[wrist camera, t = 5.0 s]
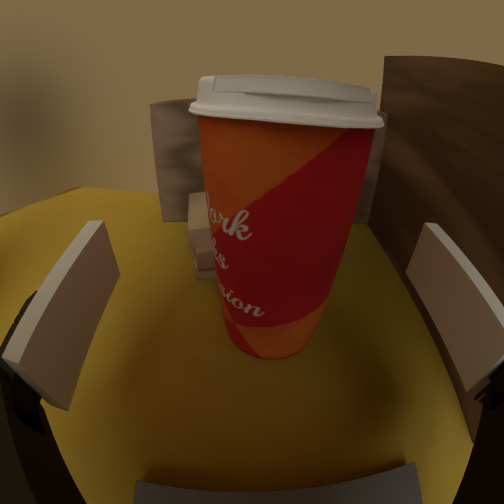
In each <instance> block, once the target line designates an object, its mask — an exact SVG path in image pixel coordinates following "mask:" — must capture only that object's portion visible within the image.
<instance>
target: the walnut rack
mask: <svg viewBox="0 0 504 504" xmlns="http://www.w3.org/2000/svg"><path fill="white" fill-rule="evenodd" d="M196 100H197V98H194V99H181V100H170V101H162V102H155V103H152V104H150V113H151V126H152V138H153V148H154V158H155V166H156V175H157V182H158V190H159V197H160V204H161V210H162V217H163V221H188V220H187V213H188V207H189V193H200V192H205V185H204V177H203V168H202V159H201V150H200V140H199V130H198V120H197V114H193V113H191V112H189V108H190V104H191V103H193V102H196ZM377 115H378V116H380V117H381V118H382V119H383V122H384V127H382V128H375V133H374V138H373V142H372V147H371V152H370V156H369V160H368V165H367V169H366V173H365V177H364V181H363V185H362V189H361V193H360V196H359V200H358V204H357V207H356V211H355V214H354V218H353V221H352V223H363V224H368V226H369V227H370V229H371V230H372V232H373V233H374V235H375V236H376V238H377V239H378V241H379V242H380V244H381V245H382V247H383V249H384V250H385V252H386V253H387V255H388V257H389V258H390V260H391V261H392V263H393V265H394V266H395V268H396V270H397V271H398V273H399V275H400V277H401V278H402V280H403V282H404V284H405V285H406V287H407V289H408V291H409V292H410V294H411V296H412V298H413V300H414V302H415V303H416V305H417V307H418V309H419V311H420V313H421V315H422V317H423V319H424V321H425V323H426V325H427V327H428V329H429V331H430V333H431V335H432V337H433V339H434V341H435V343H436V345H437V348H438V350H439V352H440V354H441V356H442V359H443V361H444V363H445V365H446V368H447V370H448V373H449V375H450V377H451V380H452V382H453V385H454V387H455V390H456V393H457V395H458V398H459V401H460V404H461V406H462V409H463V412H464V415H465V418H466V421H467V424H468V427H469V431H470V434H471V437H472V441H473V443H474V442H475V438H476V434H477V430H478V426H479V422H480V417H481V412H482V407H483V404H482V403H480V402H479V400H480V399H481V398H482V397H483V396H484V395H485V394H483V395H482V396H481V397H480V398H478V399H477V400H476V401H475V400H474V398H475V396H476V395H477V394H478V393H479V392H480V391H481V390H482V389H483V388H484V387H485V386H486V385H487V384H488V383H490V382H491V381H490V379H489V378H488V379H486V380H485V381H484V382H483V383H482V384H481V385H480V386H479V387H477V388H475V389H473V390H470V391H468V392H466V390H465V388H464V385H463V383H462V380H461V378H460V376H459V373H458V371H457V369H456V367H455V364H454V362H453V360H452V358H451V356H450V353H449V351H448V349H447V347H446V345H445V343H444V341H443V339H442V337H441V335H440V333H439V331H438V329H437V327H436V325H435V323H434V321H433V319H432V318H431V316H430V314H429V312H428V310H427V308H426V307H425V305H424V303H423V301H422V300H421V298H420V296H419V294H418V293H417V291H416V289H415V287H414V286H413V284H412V282H411V281H410V279H409V277H408V276H407V274H406V273H405V272H406V270H407V267H408V265H409V263H410V260H411V258H412V255H413V252H414V250H415V247H416V245H417V242H418V239H419V236H420V234H421V231H422V228H423V225H424V223H437V224H438V225H439V226H440V227H441V228H442V230H443V231H444V232H445V233H446V234H447V235H448V236H449V237H450V238H451V239H452V241H453V242H454V243H455V244H456V245H457V246H458V247H459V249H460V250H461V251H462V252H463V253H464V255H465V256H466V257H467V258H468V259H469V261H470V262H471V263H472V264H473V266H474V267H475V268H476V269H477V271H478V272H479V273H480V275H481V276H482V277H483V278H484V280H485V281H486V282H487V284H488V285H489V287H490V288H491V289H492V291H493V292H494V293H495V294H496V295H497V297H498V298H499V300H500V301H501V302H502V305H504V66H502V65H497V64H492V63H486V62H480V61H473V60H466V59H457V58H446V57H431V56H385V58H384V73H383V84H382V94H381V104H380V111H377Z"/></svg>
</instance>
